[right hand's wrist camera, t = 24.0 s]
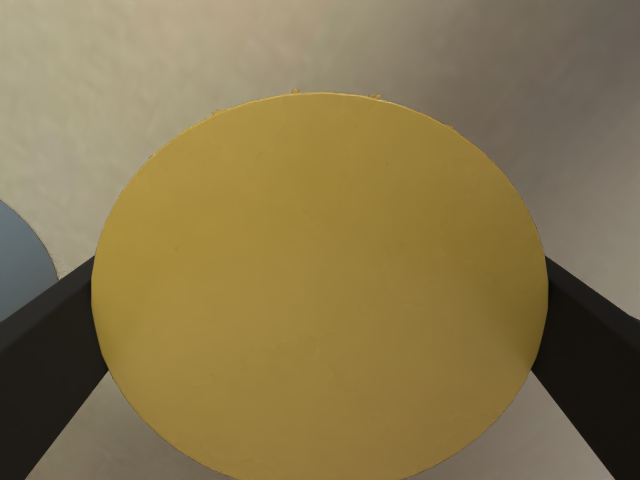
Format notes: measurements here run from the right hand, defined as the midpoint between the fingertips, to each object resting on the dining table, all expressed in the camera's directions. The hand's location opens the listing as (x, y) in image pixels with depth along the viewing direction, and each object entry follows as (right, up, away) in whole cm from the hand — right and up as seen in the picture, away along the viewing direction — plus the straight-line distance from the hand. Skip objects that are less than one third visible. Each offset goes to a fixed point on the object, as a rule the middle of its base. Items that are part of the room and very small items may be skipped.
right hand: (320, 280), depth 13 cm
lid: (0, -1, -2) cm, 3 cm away
